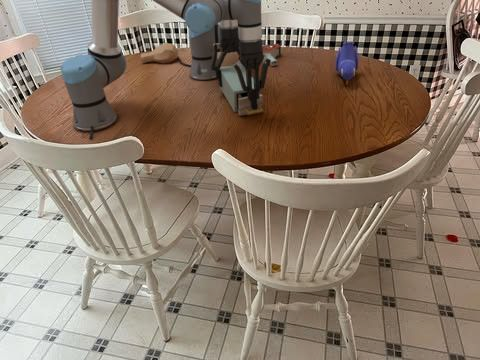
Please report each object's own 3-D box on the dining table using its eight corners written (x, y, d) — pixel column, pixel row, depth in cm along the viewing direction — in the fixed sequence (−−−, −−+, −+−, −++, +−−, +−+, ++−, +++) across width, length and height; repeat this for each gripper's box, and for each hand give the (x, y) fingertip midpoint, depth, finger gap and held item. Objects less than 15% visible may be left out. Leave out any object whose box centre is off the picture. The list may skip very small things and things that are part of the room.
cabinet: (259, 107, 136) (259, 87, 131) (234, 112, 134) (233, 91, 129) (242, 83, 152) (242, 63, 146) (219, 87, 150) (218, 67, 144)
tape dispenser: (274, 70, 173) (292, 55, 185) (274, 59, 169) (292, 45, 182) (243, 64, 180) (262, 50, 193) (243, 53, 177) (262, 40, 189)
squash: (179, 63, 185) (174, 47, 178) (142, 70, 187) (136, 55, 180) (180, 53, 192) (175, 37, 186) (145, 60, 194) (139, 45, 188)
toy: (333, 78, 167) (335, 88, 145) (335, 40, 160) (337, 44, 138) (355, 78, 165) (360, 87, 142) (358, 39, 158) (364, 43, 136)
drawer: (267, 118, 129) (267, 102, 124) (243, 123, 127) (243, 106, 122) (245, 87, 147) (245, 72, 142) (224, 91, 145) (223, 75, 140)
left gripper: (265, 34, 118) (267, 101, 131) (227, 39, 115) (233, 107, 129) (273, 39, 112) (275, 108, 125) (234, 45, 109) (239, 115, 123)
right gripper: (254, 21, 139) (256, 77, 152) (198, 28, 135) (204, 85, 147) (260, 25, 133) (262, 82, 146) (202, 32, 129) (208, 91, 141)
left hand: (254, 108), depth 127 cm, fingers closed
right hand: (233, 84), depth 147 cm, fingers closed on cabinet, 10 cm apart
